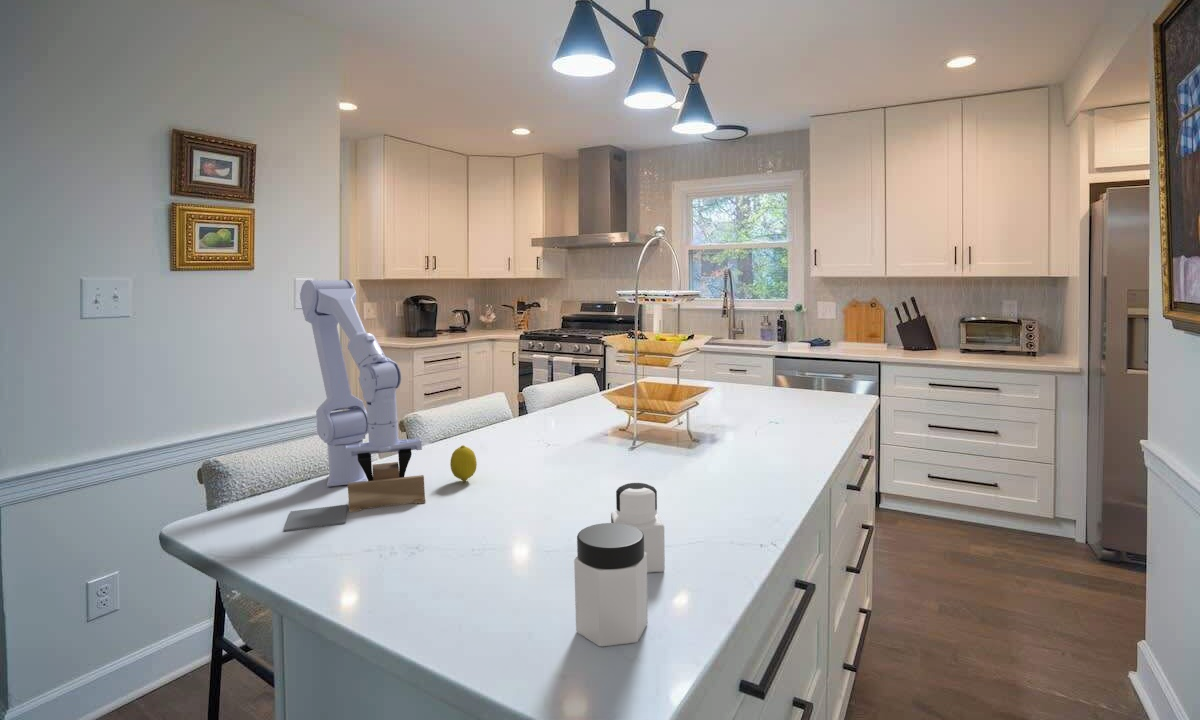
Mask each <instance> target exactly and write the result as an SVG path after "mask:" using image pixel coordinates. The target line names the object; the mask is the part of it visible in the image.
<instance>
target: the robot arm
mask: <svg viewBox="0 0 1200 720" xmlns="http://www.w3.org/2000/svg"><path fill="white" fill-rule="evenodd" d="M300 288H301V289H300V293H299V299H300V304H301V309H302V313H303V314H302V315H303V317H304V321H306V322H308V323H310V324H311V328H312V334H313V339H314V343H315V347H316V348H315V349H316V352H317V357H318V362H319V366H320V367H319V368H320V371H321V376H322V382H323V385H324V386H323V387H324V390H325V391H324V392H325V396H326V399H325V400H324V401H323V402H322V404H320V405H319V407H317V409H316V412H315V413H316V430H317V435H318V436H319V438H320V440H322V442H323V443H325V444H326V445H327V458H328V471H329V472H328V473H329V474H328V478H327V483H326V487H337V486H346V485H347V486H348V483H357V482H365V481H373V464H372V454H373V455H375V454H384V453H386V454H387V453H393V452H394V453H395V452H397V455H398V466H399V478H401V477H405V474H406V472H407V468H408V465H409V463H410V460H411V459H412V458H411V457H412V451H414V450H415V451H421V450H423V447H422V438H414V439H413V438H411V439H409V438H408V439H405V438H404V439H403V438H402V439H401V438H399V427H398V426H399V424H398V407H397V406H398V405H397V392H396V391H397V389H398V388H399V387H400V385H401V382H402V374H401V373H402V372H401V370H400V368H399V364H398V363H397V362H396V361H394V360H392V359H391V358H390V357H386V355H385V353H384V351H383V349H382V348H381V346H380V343H379V342H378V340H377V338H376V337H375V334H373V333H369V332H367V331H366V328H365V327H364V325H363V322H362V318H361V317H360V314H359V312H358V310H357V308H356V307H357V306H356V303H357V291H356V289H355V286H354V284H353V283H352V281H351V280H350V279H345V278H344V279H341V280H340V279H337V280H335V279H334V280H333V279H331V280H326V279H325V280H323V279H322V280H311V279H307V280H304V282H303V284H302V285H301V287H300ZM338 324H339V326H340V327H341V329H342V330H343V332H344V334H345V335H346V336H347V338H348V339H349V341H348V343H347V349H348V352H349V353H350V355H351V357H352V359H353V360H354V363H355V364H356V367H357V369H358V370H359V377H358V382H359V386H360V388H361V391H362V398H363V400H364V401H363V400H362V399H360V398H358V397H356V396H355V395H353V394H352V392H351V387H350V382H349V378H348V373H347V368H346V362H345V359H344V358H345V357H344V354H343V353H344V352H343V350H342V343H341V340H340V333H339V330H338ZM364 402H366V407H365V404H364ZM342 410H343V411H342ZM367 435H368V441H367V442H363V440H365V439H366V436H367Z"/></svg>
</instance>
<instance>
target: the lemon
mask: <svg viewBox="0 0 1200 720" xmlns="http://www.w3.org/2000/svg"><path fill="white" fill-rule="evenodd" d="M449 463H450V464H449V465H450V470H451V472H452V474H453V476H454V477H455V478H457V479H458V480H461V481H462V482H463V483H464V481H465V482H467V480H468V479H470V478H471V477H472V476H474V474H475V473H476V470H477V467H478V466H477V465H478V464H477V463H478V462H477V458H476V455H475V452H474V451H473V449H471V448H469V447H467V446H465V445H461V446H459V447H457V448H456V449H455V450H454V451H453V452H452V454H451V457H450V462H449Z"/></svg>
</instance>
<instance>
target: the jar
mask: <svg viewBox="0 0 1200 720" xmlns="http://www.w3.org/2000/svg"><path fill="white" fill-rule="evenodd" d="M576 539H577V540H576V543H577V544H576V549H577V556H576V557H575V558H574V560H573V563H574V598H575V599H574V601H575V604H574V605H575V631H576V633H577V634H579V635H580V636H582V637H584V638H586V639H587V640H588V641H590V642H592V643H593V644H595V645H597V646H598V647H600V648H602V647H603V648H604V647H610V646H619V645H626V644H635V643H638V641H639V640H640V638H641V637H642V634H643V633H644V631H645V628H646V627H647V625H648V617H649V615H648V573H647V553H646V552H645V551H644V534H643V532H642V531H641V530H639V529H638V528H636V527H634V526H631V525H627V524H621V523H611V522H605V523H596V524H592V525H589V526H586V527H585V528H582V529H581V530H580V531H578V533H577V536H576Z"/></svg>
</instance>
